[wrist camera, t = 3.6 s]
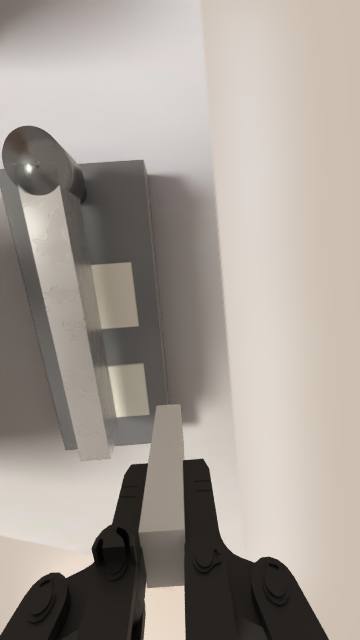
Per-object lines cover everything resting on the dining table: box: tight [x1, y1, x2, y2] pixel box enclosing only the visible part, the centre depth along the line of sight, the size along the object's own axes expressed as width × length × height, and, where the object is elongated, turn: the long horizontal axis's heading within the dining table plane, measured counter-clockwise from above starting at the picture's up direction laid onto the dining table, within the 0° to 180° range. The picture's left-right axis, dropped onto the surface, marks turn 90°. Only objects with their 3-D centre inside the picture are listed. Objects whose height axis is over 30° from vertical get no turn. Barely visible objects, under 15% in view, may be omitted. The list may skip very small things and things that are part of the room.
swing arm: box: [2, 126, 119, 461], centre depth 17 cm, size 4×24×3 cm, turn 4°
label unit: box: [0, 160, 169, 450], centre depth 22 cm, size 12×28×5 cm, turn 4°
